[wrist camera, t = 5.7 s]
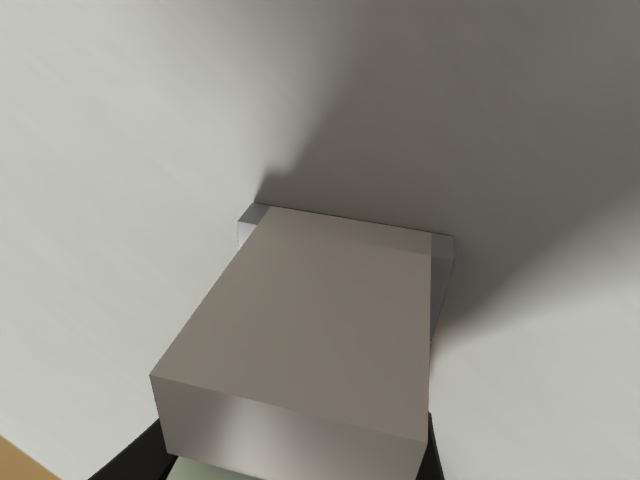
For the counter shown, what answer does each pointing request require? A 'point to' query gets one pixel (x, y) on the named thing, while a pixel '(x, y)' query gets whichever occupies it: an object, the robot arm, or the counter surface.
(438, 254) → the rod with sliding collar
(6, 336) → the counter surface
